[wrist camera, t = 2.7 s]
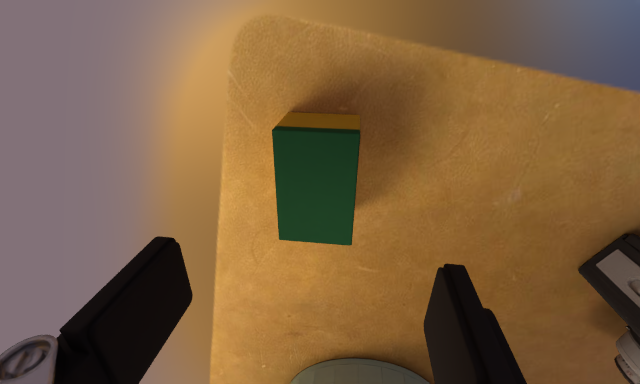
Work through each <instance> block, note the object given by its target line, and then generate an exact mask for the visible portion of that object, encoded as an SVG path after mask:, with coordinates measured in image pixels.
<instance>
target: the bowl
mask: <svg viewBox="0 0 640 384" xmlns="http://www.w3.org/2000/svg"><path fill="white" fill-rule="evenodd" d="M290 384H430V383H429V382H428V381H426V380H425V379H423V378H422V377H421V376H419V375H417V374H416V373H414V372H412V371H410V370H407V369H405V368H403V367H400V366H397V365H394V364H391V363H387V362H382V361H377V360H371V359H359V358H349V359H336V360H330V361H325V362H322V363H318V364H315V365H313V366H311V367H308V368H307V369H305V370H303V371H301V372H300V373H299V374H298V375H296V377H295V378H294V379H293V380H292V381H291V383H290Z"/></svg>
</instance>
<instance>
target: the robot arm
mask: <svg viewBox="0 0 640 384" xmlns="http://www.w3.org/2000/svg"><path fill="white" fill-rule="evenodd" d="M191 301H192V290H191V287H190V283H189V279H188V275H187V271H186V267H185V264H184V260H183V256H182V252H181V248H180V245H179V243H177V242H176V241H175V239H174V238H169V237H155V238H154V239H153V240H152V241H151V242H150V243H149V244H148V245H147V246H146V247H145V248H144V249H143V250H142V251H140V252H139V253H138V254H137V255H136V257H134V258H133V259H132V260H131V261H130V262H129V263H128V264H127V265H126V266H125V267H124V268H123V269H122V270H121V271H120V272H119V273H118V274H117V275H116V276H115V277H114V278H113V279H112V280H110V282H108V283H107V285H106V286H104V287H103V288H102V289H101V290H100V291H99V292H98V293H97V294H96V295H95V296H94V297H93V298H92V299H91V300H90V301H89V302H88V303H87V304H86V305H85V306H84V307H83V308H82V309H81V310H80V311H79V312H77V313H76V314H75V315H74V316H73V317H72V318H71V319H70V320H69V321H68V322H67V323H66V324H65V325H64V326H63V327H62V328H61V329H60V332H61V334H60V335H59V337H57V338H55V337H53V336H51V335H38V336H34V337H31V338H28V339H25V340H23V341H21V342H19V343H17V344H16V345H14V346H12V347H10V348H9V349H7V350H6V351H5V352H4V353H2V354H1V355H0V384H139V382H140V381H141V379H142V378H143V376H144V374H145V373H146V371H147V370H148V368H149V367H150V365H151V364H152V362H153V361H154V359H155V358H156V356H157V354H158V353H159V351H160V350H161V348H162V347H163V345H164V344H165V342H166V340H167V339H168V337H169V336H170V334H171V332H172V331H173V330H174V328H175V327H176V325H177V323H178V322H179V320H180V319H181V317H182V316H183V314H184V313H185V311H186V310H187V308H188V306H189V305H190V303H191ZM424 333H425V337H426V342H427V347H428V352H429V357H430V362H431V366H432V371H433V376H434V381H435V384H527V383H526V381H525V379H524V377H523V375H522V373H521V370H520V368H519V366H518V364H517V362H516V360H515V358H514V356H513V353H512V351H511V349H510V347H509V345H508V343H507V341H506V339H505V336H504V334H503V332H502V330H501V328H500V326H499V324H498V322H497V319H496V317H495V315H494V314H493V312H492V311H491V310H490V309H486V308H483V306H482V304H481V302H480V300H479V297H478V295H477V293H476V291H475V288H474V286H473V284H472V282H471V279H470V277H469V275H468V272H467V270H466V268H465V266H463V265H455V264H445V265H444V267H443V268H441V267H439V268H438V270H437V274H436V278H435V282H434V285H433V289H432V293H431V297H430V301H429V304H428V308H427V312H426V316H425V320H424Z"/></svg>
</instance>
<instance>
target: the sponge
mask: <svg viewBox="0 0 640 384" xmlns="http://www.w3.org/2000/svg"><path fill="white" fill-rule="evenodd" d="M272 136H273V152H274V167H275V183H276V198H277V214H278V229H279V240H289V241H301V242H314V243H326V244H338V245H352V233H353V221H354V208H355V195H356V183H357V170H358V158H359V145H360V116H359V115H348V114H323V113H297V112H288V113H287V114H286V115H285V116H284V118H283V119H282V120H281V121H280V122H279V123H278V124H277V125H276V126H275V127H274V129H273V130H272Z"/></svg>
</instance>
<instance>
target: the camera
mask: <svg viewBox="0 0 640 384" xmlns="http://www.w3.org/2000/svg"><path fill="white" fill-rule="evenodd" d="M578 271H579V273H580V274H581V275H582V276H583V277H584V278H585V279H586V280H587V281H588V282H589V283H590V284H591V285H592V286H593V288H594V289H595V290H596V291H597V292H598V293H599V294H600V295H601V296H602V297H603V298H604V299H605V300H606V301H607V303H608V304H609V305H610V306H611V307H612V308H613V309H614V310H615V311H616V312H617V313H618V314H619V315H620V317H621V318H622V319H623V320H624V321H625V322H626V323H627V324H628V325H629V326H626V328H627V329H628V331H627V332H626V333H625V334H624V335H623V336H621V337H620V338H619V339H618V340H617V341H616V347H617V349H618V351H619V353H620V354H619V355H617V356H616V358H615V359H614V360H615V363H616V365H617V367H618V369H619V370H620V372H621V373H622V375H623V376H624V377H625V378H626V380H627V381H628V382H629V383H630V384H640V237H639V236H637V235H635V234H631V235H630V236H628V235H626V234H624V235H623V236H621V237H620V238H619V239H617V240H616V241H615V242H613V243H612V244H610V245H609V246H608V247H606V248H605V249H604V250H602V251H601V252H600V253H598V254H597V255H596V256H594V257H593V258H592V259H590V260H589V261H588V262H586V263H585V264H584V265H583V266H581V267H580V268H579V270H578Z"/></svg>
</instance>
